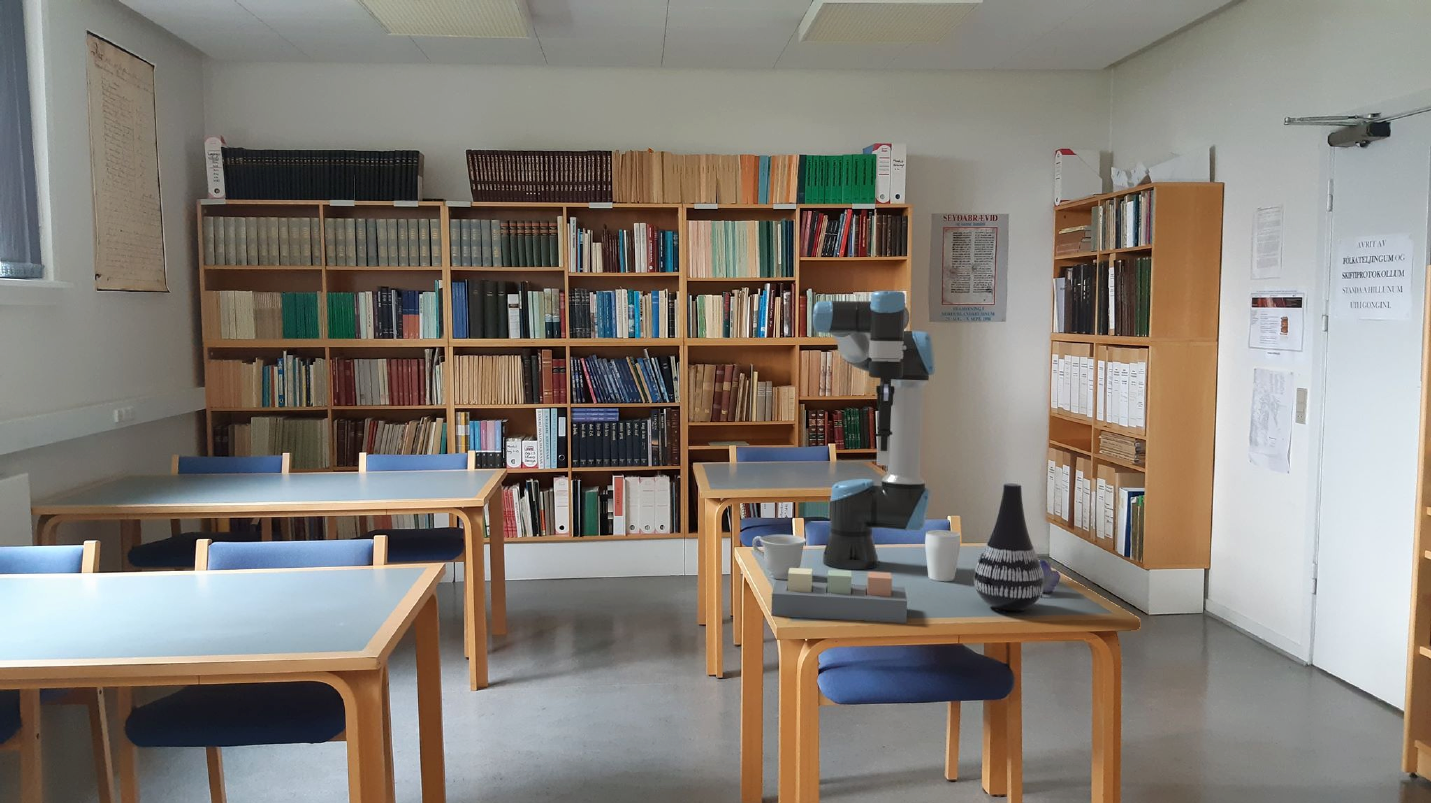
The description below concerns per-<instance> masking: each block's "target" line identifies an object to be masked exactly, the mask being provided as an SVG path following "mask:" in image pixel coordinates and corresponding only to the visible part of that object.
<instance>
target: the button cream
mask: <svg viewBox="0 0 1431 803" xmlns="http://www.w3.org/2000/svg"><path fill="white" fill-rule="evenodd" d="M787 581H788V591H798V592H812V582H813V568H801V567H799V568H789V572H788V579H787Z"/></svg>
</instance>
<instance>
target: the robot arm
mask: <svg viewBox="0 0 1431 803" xmlns="http://www.w3.org/2000/svg"><path fill="white" fill-rule="evenodd" d="M906 304H907V303H906V295H905V293H904V292H903V291H901V290H900V291H898V290H876V291H873V293H871V300H870V301H869V300H867V301H866V300H865V301H860V300H858V301H855V300H850V301H849V300H830V299H829V300H819V301H817V302H816V303H815V304H814V306H813V314H812V325H813V329H814V331H815V332H817V333H823V334H828V333H829V334H830V335H831V336H832V338H833V339H834V341H835V342H836V344H837V349H838V353H839V355H840V356H841V358H842V359H843V360H844V361H845V362H846V363H848V364H849V365H851V366H853V367H854V368H857V369H859V370H862V371H865V372H868V376H869V377H870V378H873V379H874V378H875V379H879V385H876V388H875V390H876V391H875V392H876V396H877V397H876V403H877V406H878V414H877V415H878V418H877V419H878V420H877V422H878V423H877V433H875V436H874V437H877V444H876V446H877V448H876V451H877V452H876V466H886V467H887V473H886V475H884V477H883V478H882V479H881V485H876V484H875V482H874V479H871V478H858V479H847V480H842V481H838V482H835V483H834V484H833V485H832V486H831V491H830V492H831V493H830V500H829V501H830V517H829V518H830V521H829V522H830V525H829V528H830V529H829V536H828V539H827V542H826V545H825V549H824V551H823V554H822V563H823V564H824V565H826V566H827V567H828V566H829V567H831V568H837V569H842V570H843V569H845V570H869V569H873V568H876V567H877V566H878V565H879V555H878V553H877V550H876V549H877V548H876V546H875V542H874V539H873V538H874V537H873V529H887V530H901V531H904V532H907V531H921V530H922V529H923V528H924V526H925V524H926V518H927V514H928V510H929V509H928V508H929V503H930V498H931V497H930V495H931V489H929V488H928V487H926V481H925V480H924V479H923V477H921V475H920V474H921V473H920V472H921V446H922V445H921V443H922V421H923V420H922V417H923V416H922V415H923V390H924V389H923V388H924V387H925V386H926V384H928V383H929V382H930V376H932V375H935V371H936V370H935V356H934V355H935V354H934V348H933V347H934V345H933V341H932V340H933V339H932V337H931V335H930V334H929V333H928V332H926V331H918V330H905V329H906V328H907V327H908V324H909V323H910V312H909V309H908V308H907V307H906Z"/></svg>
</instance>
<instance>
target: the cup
mask: <svg viewBox="0 0 1431 803" xmlns="http://www.w3.org/2000/svg"><path fill="white" fill-rule="evenodd" d="M924 547H925V556H926V566H927V576H928V579H929V580H933V581H936V582H952V581H954V580H955V576H956V571H957V566H958V561H959V555H960V550H961V549H960V548H961V534H960V533H959V532H957V531H953V530H947V529H946V530H945V529H933V530H932V529H931V530H927V531H925V539H924Z"/></svg>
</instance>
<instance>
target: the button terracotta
mask: <svg viewBox="0 0 1431 803" xmlns="http://www.w3.org/2000/svg"><path fill="white" fill-rule="evenodd" d="M866 576H867V584H866V585H867V595H871V596H890V597H891V587H892V583H893V582H892V580H893V577H892V573H891V572H879V571H867V574H866Z"/></svg>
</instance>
